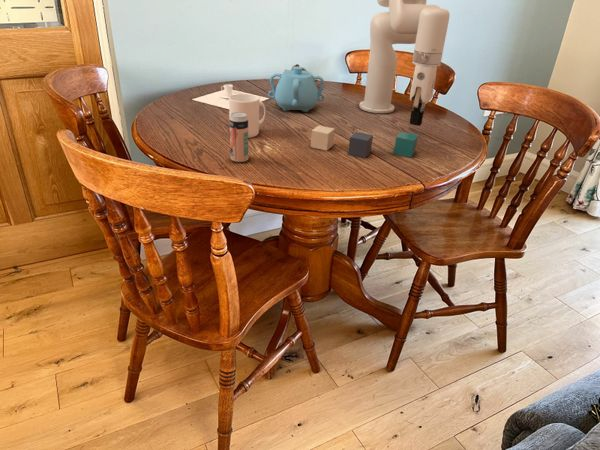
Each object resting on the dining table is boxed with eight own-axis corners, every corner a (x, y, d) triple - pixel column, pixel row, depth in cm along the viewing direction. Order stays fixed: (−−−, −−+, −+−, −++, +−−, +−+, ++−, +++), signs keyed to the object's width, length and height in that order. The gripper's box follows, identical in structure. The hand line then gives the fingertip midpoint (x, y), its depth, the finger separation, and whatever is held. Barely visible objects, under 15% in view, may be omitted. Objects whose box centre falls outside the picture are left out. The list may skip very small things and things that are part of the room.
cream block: (317, 141, 134) (318, 125, 132) (333, 145, 133) (334, 128, 130) (310, 147, 130) (311, 130, 128) (326, 150, 129) (328, 133, 126)
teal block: (397, 148, 133) (400, 131, 130) (415, 151, 131) (418, 134, 129) (393, 154, 129) (396, 137, 127) (411, 157, 127) (414, 140, 125)
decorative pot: (263, 104, 164) (264, 64, 157) (300, 98, 172) (302, 60, 165) (290, 117, 153) (291, 75, 146) (328, 110, 161) (331, 70, 154)
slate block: (353, 148, 131) (355, 131, 129) (370, 152, 130) (373, 135, 127) (348, 154, 127) (349, 137, 125) (365, 158, 126) (367, 140, 123)
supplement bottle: (230, 155, 122) (229, 111, 116) (248, 156, 123) (248, 111, 116) (229, 163, 118) (228, 117, 112) (248, 163, 119) (248, 117, 112)
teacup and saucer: (245, 96, 170) (245, 85, 168) (231, 101, 164) (231, 89, 162) (227, 92, 174) (227, 81, 172) (213, 96, 168) (212, 85, 166)
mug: (274, 133, 139) (274, 97, 133) (240, 140, 132) (240, 103, 126) (257, 125, 144) (257, 90, 139) (224, 132, 137) (223, 96, 132)
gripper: (436, 64, 118) (423, 134, 127) (445, 56, 130) (433, 120, 139) (407, 61, 120) (396, 129, 129) (419, 52, 132) (408, 115, 141)
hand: (415, 124), depth 134 cm, fingers closed
